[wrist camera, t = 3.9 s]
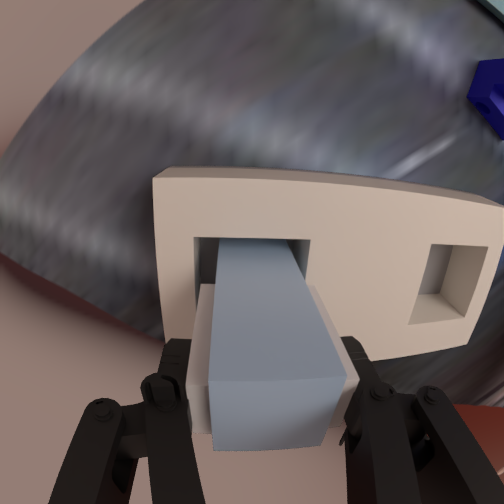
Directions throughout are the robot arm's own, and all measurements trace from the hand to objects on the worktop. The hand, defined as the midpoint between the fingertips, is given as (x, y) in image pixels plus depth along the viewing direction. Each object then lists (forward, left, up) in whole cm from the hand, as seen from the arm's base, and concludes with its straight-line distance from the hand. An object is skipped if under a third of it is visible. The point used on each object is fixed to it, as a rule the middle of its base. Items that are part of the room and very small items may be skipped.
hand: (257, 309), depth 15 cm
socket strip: (-7, 0, -7) cm, 10 cm away
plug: (0, 0, -5) cm, 5 cm away
